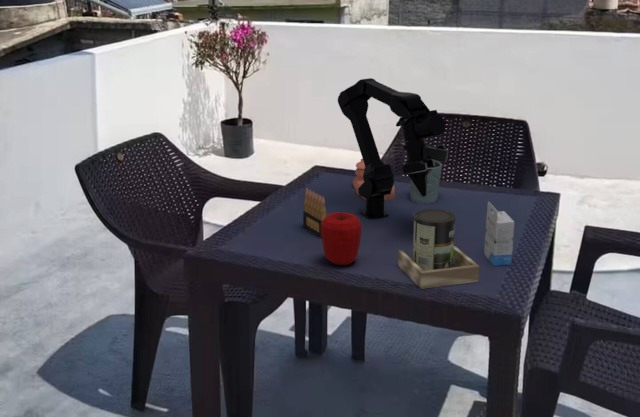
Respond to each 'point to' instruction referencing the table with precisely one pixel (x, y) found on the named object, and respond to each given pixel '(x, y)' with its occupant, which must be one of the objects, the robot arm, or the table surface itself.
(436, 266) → the coffee can
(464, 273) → the corral
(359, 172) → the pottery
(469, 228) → the table surface
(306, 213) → the ammunition clip
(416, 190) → the green cup
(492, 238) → the ink box
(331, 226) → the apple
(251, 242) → the table surface
